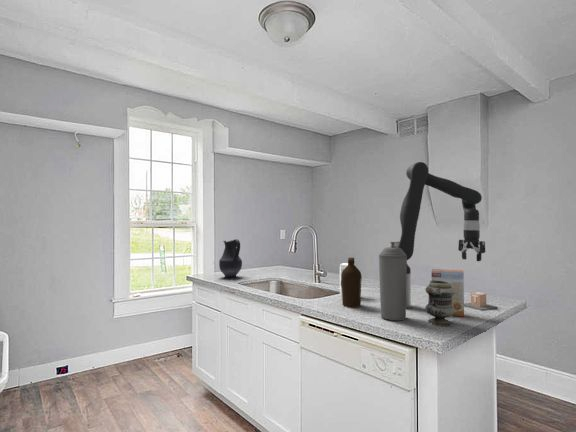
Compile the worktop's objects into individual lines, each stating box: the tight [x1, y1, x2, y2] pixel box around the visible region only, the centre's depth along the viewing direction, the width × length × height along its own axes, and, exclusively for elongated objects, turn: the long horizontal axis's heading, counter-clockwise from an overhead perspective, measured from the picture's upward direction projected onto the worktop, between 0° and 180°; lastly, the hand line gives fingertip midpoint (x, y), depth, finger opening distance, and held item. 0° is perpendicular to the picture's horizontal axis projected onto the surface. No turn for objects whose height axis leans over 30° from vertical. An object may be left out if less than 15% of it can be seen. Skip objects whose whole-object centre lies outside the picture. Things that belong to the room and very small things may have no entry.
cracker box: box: [431, 268, 465, 318], centre depth 172 cm, size 14×6×21 cm, turn 65°
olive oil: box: [341, 257, 363, 308], centre depth 190 cm, size 11×11×25 cm
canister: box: [378, 241, 408, 321], centre depth 166 cm, size 13×13×35 cm
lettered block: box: [470, 291, 487, 307], centre depth 185 cm, size 5×5×6 cm
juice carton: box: [339, 262, 357, 297], centre depth 212 cm, size 8×9×19 cm
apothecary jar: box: [424, 279, 455, 327], centre depth 158 cm, size 12×12×18 cm
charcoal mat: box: [464, 302, 498, 312], centre depth 185 cm, size 12×12×1 cm
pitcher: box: [218, 238, 243, 280], centre depth 278 cm, size 17×21×30 cm
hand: (471, 260), depth 189 cm, fingers open, 8 cm apart
